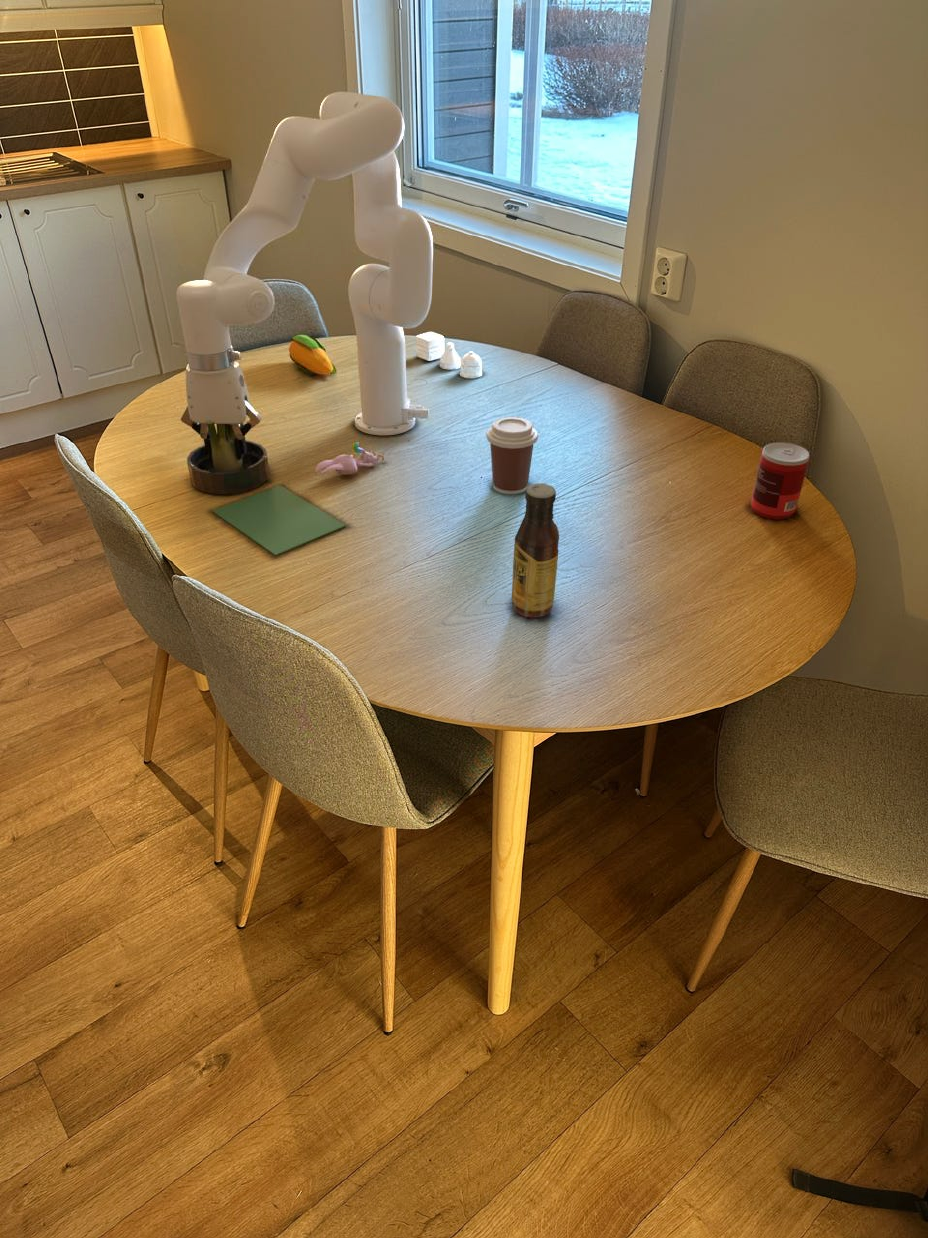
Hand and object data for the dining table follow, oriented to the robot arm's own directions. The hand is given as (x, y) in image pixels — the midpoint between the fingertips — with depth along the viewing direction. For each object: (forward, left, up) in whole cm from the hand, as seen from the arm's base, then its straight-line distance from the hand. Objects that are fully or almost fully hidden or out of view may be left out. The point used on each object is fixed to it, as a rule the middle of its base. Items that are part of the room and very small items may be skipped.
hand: (227, 455), depth 160 cm
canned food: (-98, +8, -5) cm, 98 cm away
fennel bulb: (0, 0, -4) cm, 4 cm away
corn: (-6, -56, -5) cm, 57 cm away
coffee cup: (-52, +1, -5) cm, 52 cm away
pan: (0, 0, -5) cm, 5 cm away
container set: (-38, -61, -5) cm, 72 cm away
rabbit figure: (-22, -3, -5) cm, 23 cm away
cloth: (-12, +15, -5) cm, 20 cm away
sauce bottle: (-55, +40, -5) cm, 68 cm away
